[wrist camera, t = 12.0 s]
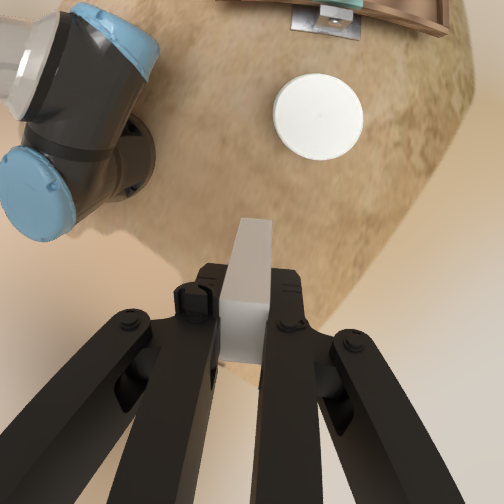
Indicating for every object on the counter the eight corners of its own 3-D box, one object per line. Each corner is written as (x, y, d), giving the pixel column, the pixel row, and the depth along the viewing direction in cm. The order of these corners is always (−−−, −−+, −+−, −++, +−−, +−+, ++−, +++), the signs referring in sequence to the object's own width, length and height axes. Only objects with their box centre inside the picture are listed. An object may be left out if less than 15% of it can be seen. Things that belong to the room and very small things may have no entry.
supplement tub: (277, 75, 39) (278, 62, 26) (341, 86, 39) (371, 81, 26) (268, 137, 43) (266, 154, 30) (331, 148, 43) (356, 169, 30)
